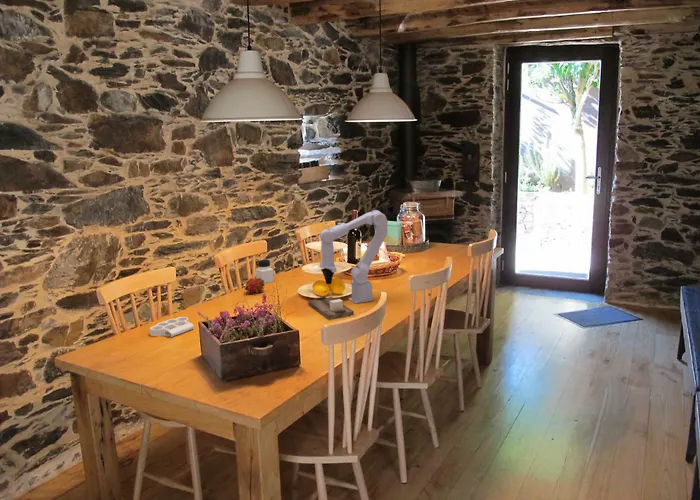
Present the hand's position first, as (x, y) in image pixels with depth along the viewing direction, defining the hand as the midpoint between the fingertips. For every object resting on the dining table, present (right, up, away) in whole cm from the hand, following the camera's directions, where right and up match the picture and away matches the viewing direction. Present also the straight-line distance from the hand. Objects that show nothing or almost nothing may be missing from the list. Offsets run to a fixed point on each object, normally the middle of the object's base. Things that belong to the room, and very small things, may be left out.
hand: (328, 283), depth 284 cm
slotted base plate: (+1, -12, -8) cm, 14 cm away
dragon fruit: (-38, -6, +21) cm, 44 cm away
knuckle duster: (-65, -19, -28) cm, 74 cm away
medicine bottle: (-36, -1, +41) cm, 54 cm away
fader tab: (+4, -11, -15) cm, 19 cm away
